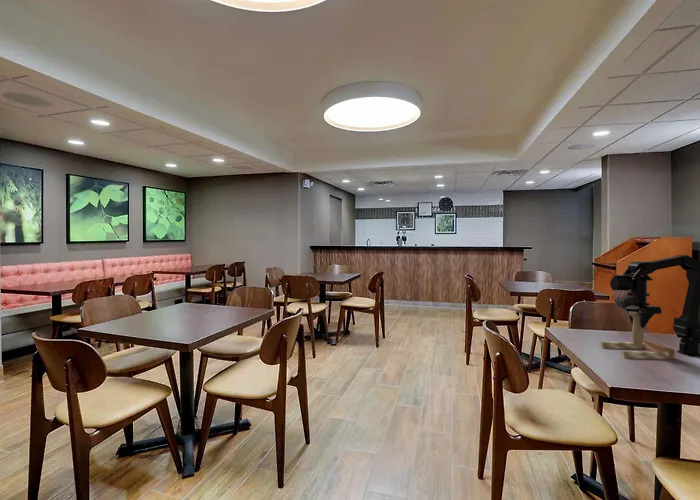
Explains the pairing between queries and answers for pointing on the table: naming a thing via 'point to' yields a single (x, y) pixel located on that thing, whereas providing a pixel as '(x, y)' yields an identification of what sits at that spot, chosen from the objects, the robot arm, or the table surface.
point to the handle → (636, 330)
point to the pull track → (654, 348)
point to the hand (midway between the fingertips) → (637, 326)
